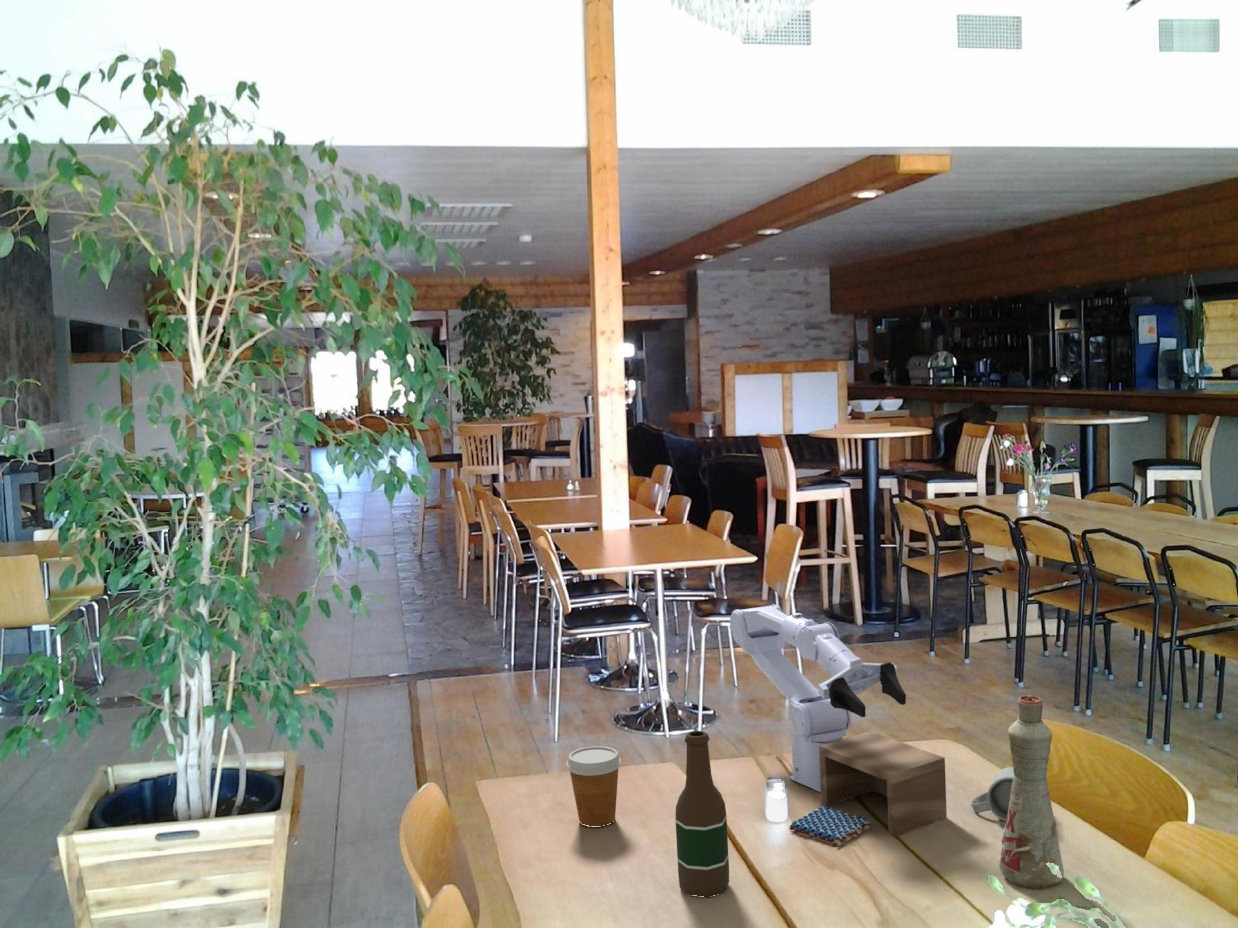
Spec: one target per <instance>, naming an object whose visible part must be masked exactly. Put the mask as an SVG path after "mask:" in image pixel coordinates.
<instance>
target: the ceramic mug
mask: <svg viewBox="0 0 1238 928" xmlns="http://www.w3.org/2000/svg"><path fill="white" fill-rule="evenodd" d="M1013 776H1014V772H1013V766H1009V767H1005V768H1002V769H1001V770H999V771H998V772H997V773H996V774H995V775H994V777H993V779H992V781H991V784H990V785H989V788H988V790H987V791H986V792H983V793H981V794H979V795H978V796H976V797H974V798H973V799H972V800H971V801H970V806H971V807H972V809H973V812H975V813H983V812H985V813H986V812H989V811H991V812H992V814H993V815H994V816H995V817H997V818H998V819H999V820H1002V821H1004V822H1006V819H1007V813H1008V807H1009V800H1010V794H1011V788H1012V782H1013Z"/></svg>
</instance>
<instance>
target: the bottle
mask: <svg viewBox="0 0 1238 928" xmlns="http://www.w3.org/2000/svg"><path fill="white" fill-rule="evenodd" d="M1043 704H1044V702H1043V701H1042V699H1041V697H1038V696H1036V695H1032V694H1029V695H1021V696H1019V697H1018V699H1017V706H1018V707H1017V708H1018V718H1017V719H1016V720H1015V721H1014V722H1013V723H1012V724H1011V725H1010V726H1009V728H1008V729H1007V735H1008V740H1009V748H1010V757H1011V762H1012V767H1013V772H1014V776H1013V782H1012V788H1011V794H1010V800H1009V807H1008V813H1007V819H1006V821H1005V824H1004V829H1003V835H1002V838H1001V840H1000V842H1001V843H1002V845H1001V852H1000V860H999V863H998V865H999V870H1000V872H1001V874H1002V875H1003V876H1004V877H1005V879H1007V880H1008V881H1009V882H1011V883H1013V884H1016V885H1019V886H1021V887H1026V888H1029V889H1030V888H1032V889H1036V890H1037V889H1039V888H1040V889H1041V888H1043V889H1044V888H1046V887H1050V886H1053V885H1056V884H1058V883H1060V882H1061V881H1062V880H1063V879H1064V876H1065V875H1064V874H1065V870H1064V865H1063V859H1062V854H1061V849H1060V848H1061V847H1060V842H1059V837H1058V833H1057V832H1058V831H1057V826H1056V825H1057V823H1056V820H1055V816H1054V811H1053V805H1052V800H1051V795H1050V789H1049V784H1048V778H1047V774H1048V765H1049V760H1050V752H1051V745H1052V741H1053V740H1052V739H1053V731H1052V730H1051V728H1050V727H1049V726H1048V725H1046V723H1044V721H1043V720H1042V716H1043V706H1044V705H1043ZM1048 862H1049V863H1054V864H1055V865H1057V866H1059V870H1060V872H1061V875H1062V878H1059V877H1057V875H1054V874H1052V872H1051V870H1050V868H1049V867H1048V866H1047V865H1046V863H1048Z"/></svg>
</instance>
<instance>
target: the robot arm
mask: <svg viewBox="0 0 1238 928" xmlns="http://www.w3.org/2000/svg"><path fill="white" fill-rule="evenodd" d="M729 625H730V630H731V634H732V638H733V640H734V642H736V644H737V645H738V646H739V647H740V648H741V649H742V650H743V651H744V652H745V653H747V654H749V656H750V657H751V659H752V660H753V662H754V664H755V665H756V666H757V667H758V669H759V670H760V671H761V672H762V673H763V674H764V675H765V677H767V679H768V680H769V681H770V682H771V684H773V685H774V687H775V688H776V689H777V690H778V691H779V692H780V693H781V694H782V695H783V696H784V697H785V699H787V701H789V704H788V719H789V720H790V722H791V723H792V725H793V729H794V730H795V732H796V734H795V735H794V737H793V740H792V743H791V757H792V775H789V779H790V781H791V780H792V781H794V782H797V783H799V784H801V785H803V786H806V787H807V788H810V789H812V790H815V791H817V792H819V793H821V782H820V758H819V746H821V745H824V744H827V743H831V742H834V741H838V740H841V739H843V737H845V736H847V733H846V732H847V731H848V730H849V729H850V728H851V725H852V721H853V714H855V715H857V716H859V717H861V718H865V717H866V715H867V714H866V705H865V704H864V702H863V700H861V699H860V698H859V697H858V696H859V695H860V694H862V693H864V692H866V691H867V690H868V689H870V688H872V687H873V686H875V685H877V684H879V682H880V684H881V693H882V694H884V695H887V696H889V697H891V698H892V699H894V700H895V701H896V702H897V703H898V704H899V705H901V706H904V705H905V704H906V703H907V702H906V701H907V694H906V692H905V691H904V689H903V688H902V685H901V684H900V682H899V680H898V679H899V678H898V676H899V675H898V674H899V673H898V672H899V671H898V670H899V668H898V666H897V665H896V664H894V663H893V661H892V662H885V663H878V662H863V659H862V658H861V657H858V656H857V654H855V653H854V652H852V650H850V649H849V647H848V646H847V645H845V644H844V643H843V642H842V640H840V635H839V632H838V629H837V628H836V626H835V625H834V624H833V623H831V621H827V622H824V623H821V624H818V623H817V622H815V620H814V619H810V618H809V619H808V618H806V617H803V614H802V613H800V612H797V613H792V614H791V615H787V614H785V613H784V612H783V611H782V608H781V606H779V605H776V604H769V605H765V606H757V607H751V608H745V609H734V610H733V611H732V612H731V615H730V619H729ZM786 643H787V644H788V645H791V646H793V647H794V648H796V649H797V650H798V651H799V653H800V657H801V658H802V659H804V660H808V659H809V660H810V661H812V662H814V663H815V662H816V663H817V664H818V665H819V666H820V667H821V668H822V669H823V670H824V671H825V672H826V673H827V674H828V675H829V676H830V678H829V679H826V681H823V682H821V683H818V686H817V687H818V688H816V687H815V686H814V684H813V683H812V682H811V681H810V680H808V679H807V677H806V676H804V674H803V673H802V672H801V671H800V670H799V669H798V668H797V667H796V666H795V665H794V664H793V662H791V661H790V660H789V659H788V658H787V657H786V655H784V654H783V652H781V651H782V650H783V649H785V647H786Z"/></svg>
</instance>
